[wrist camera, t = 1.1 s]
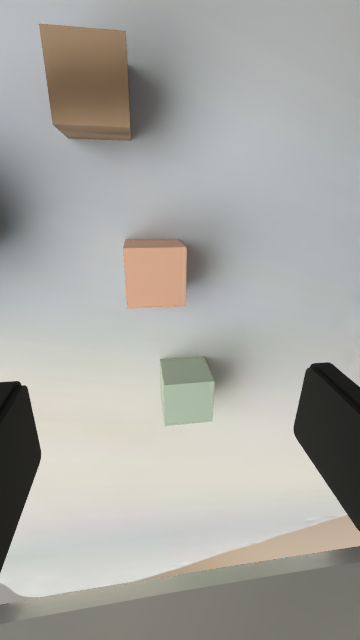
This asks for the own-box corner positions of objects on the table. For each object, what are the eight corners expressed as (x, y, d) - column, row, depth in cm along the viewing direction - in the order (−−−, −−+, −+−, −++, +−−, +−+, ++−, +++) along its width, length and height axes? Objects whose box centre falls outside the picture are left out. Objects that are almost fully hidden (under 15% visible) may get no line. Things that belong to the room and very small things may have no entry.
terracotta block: (125, 239, 27) (123, 248, 23) (178, 239, 28) (186, 247, 23) (128, 291, 29) (127, 308, 25) (177, 289, 30) (185, 306, 25)
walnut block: (59, 60, 22) (39, 23, 17) (127, 64, 22) (125, 31, 18) (68, 138, 24) (52, 124, 19) (130, 140, 24) (130, 127, 20)
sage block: (160, 358, 33) (164, 385, 28) (203, 356, 33) (214, 381, 29) (160, 395, 35) (164, 425, 30) (202, 392, 35) (212, 421, 31)
